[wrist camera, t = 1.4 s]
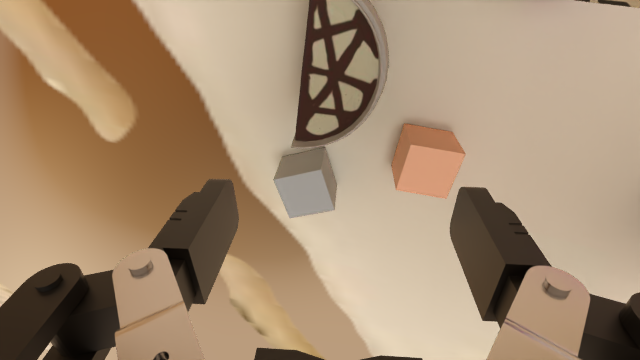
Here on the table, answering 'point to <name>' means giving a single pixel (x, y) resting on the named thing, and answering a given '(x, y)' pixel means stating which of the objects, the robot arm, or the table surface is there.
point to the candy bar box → (617, 2)
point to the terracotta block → (426, 161)
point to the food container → (340, 70)
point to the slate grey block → (306, 183)
